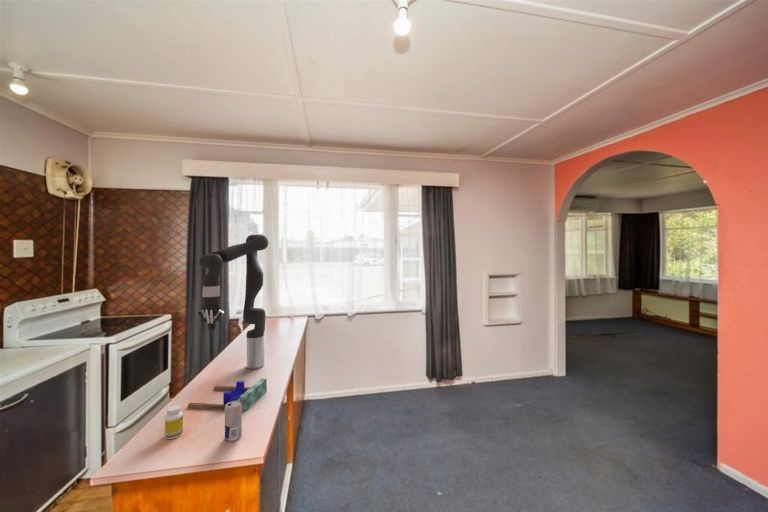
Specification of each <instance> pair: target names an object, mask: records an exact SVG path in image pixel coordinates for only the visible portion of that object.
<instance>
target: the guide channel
mask: <svg viewBox="0 0 768 512" xmlns="http://www.w3.org/2000/svg"><path fill="white" fill-rule="evenodd" d="M267 380H268V379H267V378H260V379H259V380H258V381H256V382H255V383H254V384H253V385H251V386H244V393H243V394H242V395H241V396H240V398H239V401H240V402H241V404H242V412H246V411H248V410H249V409H250V408H251V407H252V406H253V405H252V404H255V403H256V402H257V401H258V400H260V398H261V397H262V396H264V395H265V393H266V392H267V390H268V388H267V387H268V386H267V383H268V382H267ZM234 388H236V385H235V386H234V385H214V386H213V391H223V390H230V391H229V392H231V391H232V390H233V389H234ZM251 405H252V406H251ZM250 406H251V407H250ZM188 407H189V408H188ZM187 408H188V409H198V408H202V410H203V408H204V410H215V409H221V410H220V411H225V405H224V404H220V403H204V402H202V403H201V402H189V403H187Z"/></svg>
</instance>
